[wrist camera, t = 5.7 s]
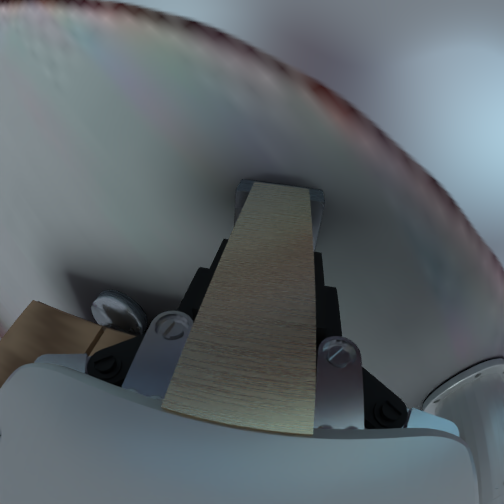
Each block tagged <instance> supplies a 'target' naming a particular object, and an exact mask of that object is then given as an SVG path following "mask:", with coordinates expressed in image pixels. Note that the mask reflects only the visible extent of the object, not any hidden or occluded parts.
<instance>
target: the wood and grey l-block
mask: <svg viewBox="0 0 504 504" xmlns="http://www.w3.org/2000/svg"><path fill="white" fill-rule="evenodd" d="M324 204H325V200H324V196H323V191H322V190H317V189H310V188H304V187H297V186H291V185H283V184H276V183H268V182H261V181H252V180H243V179H242V180H241V182H240V184H239V186H238V187H237V189H236V199H235V220H234V229H233V231H232V233H231V236H230V238H229V240H228V242H227V245H226V247H225V249H224V252H223V254H222V256H221V259H220V261H219V263H218V266H217V268H216V270H215V273H214V275H213V278H212V280H211V282H210V285H209V287H208V289H207V292H206V294H205V297H204V299H203V302H202V304H201V306H200V309H199V311H198V314H197V316H196V319H195V321H194V323H193V326H192V328H191V331H190V333H189V336H188V338H187V341H186V343H185V346H184V348H183V351H182V353H181V356H180V358H179V361H178V364H177V366H176V369H175V371H174V374H173V376H172V379H171V382H170V384H169V387H168V389H167V392H166V395H165V397H164V400H163V403H162V405H161V408H162V409H164V410H167V411H171V412H174V413H178V414H181V415H185V416H189V417H193V418H197V419H201V420H205V421H209V422H214V423H219V424H224V425H229V426H234V427H240V428H246V429H252V430H259V431H266V432H274V433H283V434H294V435H307V436H312V435H313V428H314V408H315V380H316V302H315V271H314V251H315V246H316V242H317V237H318V233H319V228H320V224H321V219H322V214H323V209H324Z"/></svg>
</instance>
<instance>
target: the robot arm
mask: <svg viewBox="0 0 504 504" xmlns="http://www.w3.org/2000/svg"><path fill="white" fill-rule="evenodd" d="M228 240H229V239H224V240H223V241H222V243H221V246H220V248H219V250H218V252H217V254H216V256H215V258H214V260H213V263H212V265H211V267H210V269H208V268H202V267H200V268H199V269H198V270H197V272H196V274H195V276H194V278H193V280H192V282H191V284H190V286H189V288H188V290H187V292H186V294H185V296H184V298H183V300H182V302H181V304H180V306H179V308H178V310H177V311H166V312H163V313H161V314H159V315H158V316H156V317H155V318H154V319H153V321H152V322H151V324H150V326H149V328H148V330H147V332H146V333H144V334H142V335H139V336H136V337H134V338H131V339H128V340H126V341H123V342H120V343H118V344H115V345H112V346H109V347H107V348H104V349H101V350H99V351H97V352H95V353H94V354H93V355H92V356H88V355H87V354H44V355H41V356H40V357H38V358H37V359H36V360H35V361H34V363H30V364H25V365H23V366H21V367H19V368H18V369H16V370H15V371H14V372H13V373H12V374H11V375H10V376H9V377H8V379H7V380H6V381H5V383H4V384H3V385H2V387H1V388H0V504H504V359H501V358H498V359H492V360H488V361H485V362H483V363H480V364H478V365H476V366H473V367H471V368H469V369H467V370H465V371H464V372H462V373H460V374H458V375H457V376H455V377H453V378H452V379H450V380H449V381H447V382H446V383H444V384H443V385H441V386H440V387H439V388H438V389H436V390H435V391H434V392H433V393H432V394H431V395H430V396H429V397H428V398H427V399H426V401H425V402H424V404H423V406H422V411H421V410H418V409H416V408H413V407H412V408H411V409H408V408H406V406H405V403H404V402H403V401H402V400H401V399H400V398H399V397H398V396H396V395H395V394H394V393H393V392H392V391H390V390H389V389H388V388H387V387H386V386H384V385H383V384H382V383H381V382H380V381H379V380H377V379H376V378H375V377H374V376H373V375H371V374H370V373H369V372H368V371H367V370H366V369H364V368H363V367H362V360H361V353H360V350H359V348H358V347H357V345H356V344H355V343H354V342H352V341H351V340H349V339H347V338H345V337H342V331H341V321H340V312H339V304H338V295H337V289H336V288H335V287H329V286H324V274H323V263H322V254H321V253H319V252H314V271H315V302H316V380H315V408H314V428H313V435H312V436H307V435H294V434H283V433H274V432H266V431H259V430H252V429H246V428H240V427H234V426H229V425H224V424H219V423H214V422H209V421H205V420H201V419H197V418H193V417H189V416H185V415H181V414H178V413H174V412H171V411H167V410H164V409H162V408H161V405H162V403H163V400H164V397H165V395H166V392H167V389H168V387H169V384H170V382H171V379H172V376H173V374H174V371H175V369H176V366H177V364H178V361H179V358H180V356H181V353H182V351H183V348H184V346H185V343H186V341H187V338H188V336H189V333H190V331H191V328H192V326H193V323H194V321H195V319H196V316H197V314H198V311H199V309H200V306H201V304H202V302H203V299H204V297H205V294H206V292H207V289H208V287H209V285H210V282H211V280H212V278H213V275H214V273H215V270H216V268H217V266H218V263H219V261H220V259H221V256H222V254H223V252H224V249H225V247H226V245H227V242H228Z"/></svg>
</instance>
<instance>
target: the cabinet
mask: <svg viewBox="0 0 504 504" xmlns="http://www.w3.org/2000/svg"><path fill="white" fill-rule="evenodd" d="M134 337H136V336H134V335H130V334H127V333H124V332H120V331H117V330H114V329H111V328H108V327H105V326H102V325H99V324H96V323H93V322H90V321H87V320H85V319H82V318H79V317H76V316H74V315H71V314H69V313H66V312H63V311H61V310H58V309H56V308H53V307H51V306H48V305H46V304H44V303H41V302H39V301H34V300H33V301H32V302H31V303H30V304H29V305H28V307H27V308H26V309H25V310H24V311H23V313H22V314H21V315H20V316H19V317H18V319H17V320H16V321H15V322H14V324H13V325H12V326H11V327H10V329H9V330H8V331H7V333H6V334H5V335H4V336H3V338H2V339H1V341H0V388H1V387H2V385H3V384H4V383H5V381H6V380H7V379H8V377H9V376H10V375H11V374H12V373H13V372H14V371H15V370H16V369H18V368H19V367H21V366H23V365H25V364H30V363H34V361H35V360H36V359H37V358H38V357H40V356H41V355H44V354H87V355H88V356H92V355H93V354H94V353H95V352H97V351H99V350H101V349H104V348H107V347H109V346H112V345H115V344H118V343H120V342H123V341H126V340H128V339H131V338H134Z"/></svg>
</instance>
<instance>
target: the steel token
mask: <svg viewBox="0 0 504 504" xmlns="http://www.w3.org/2000/svg"><path fill="white" fill-rule="evenodd" d="M91 311H92V314H93V316H94V318H95V320H96V321H97V323H98V324H99V325H102V326H105V327H108V328H111V329H114V330H117V331H120V332H124V333H127V334H130V335H134V336H139V335H142V334H143V333H144V331H145V329H146V328H147V325H148V321H147V317H146V315H145V313H144V311H143V310H142V308H141V307H140V306H139V305H138V304H137V303H136V302H135V301H134V300H133V299H131V298H130V297H129V296H127V295H125V294H123V293H121V292H119V291H115V290H105V291H103V292H102V293H101V294H100V295H99V296H98V297H97V299H96V300H95V301H94V302H93V304H92V306H91Z"/></svg>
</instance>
